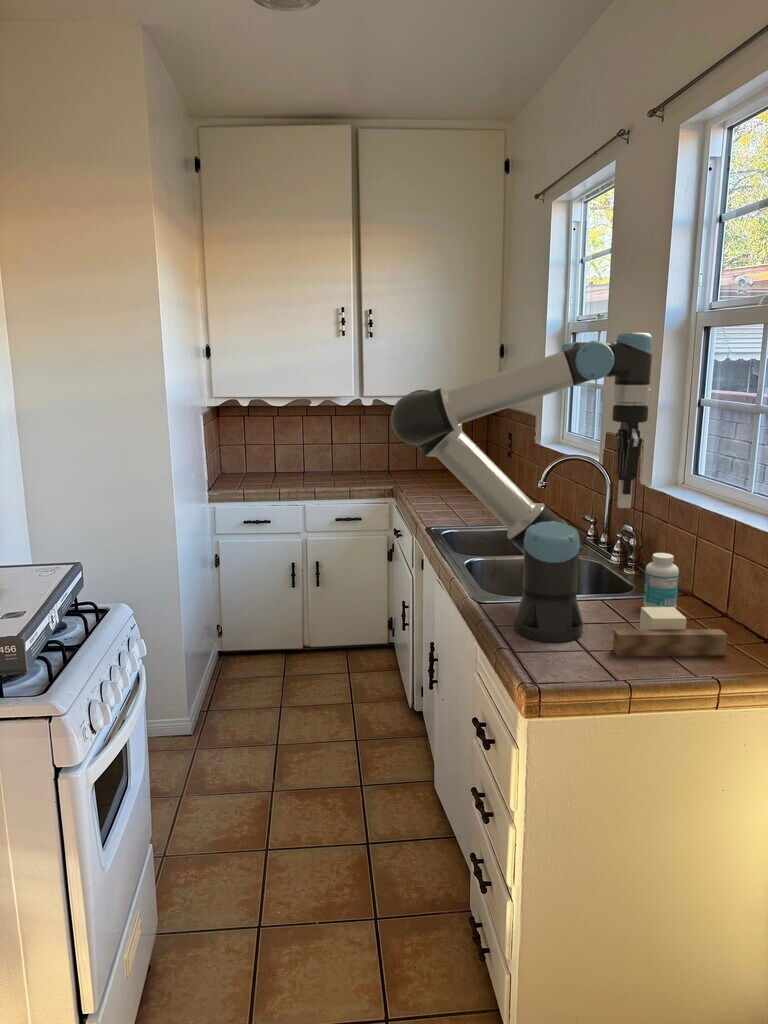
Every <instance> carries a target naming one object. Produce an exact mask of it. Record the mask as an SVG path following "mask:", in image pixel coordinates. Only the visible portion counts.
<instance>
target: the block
mask: <svg viewBox="0 0 768 1024" xmlns="http://www.w3.org/2000/svg"><path fill="white" fill-rule="evenodd" d="M639 629H687V617H686V616H684V615H683V614H682V613H681V612H680V611H679V610H678V609H677V608H676V609H675V608H674V607H644V606H641V607H640V618H639Z"/></svg>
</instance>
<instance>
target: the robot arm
mask: <svg viewBox="0 0 768 1024" xmlns="http://www.w3.org/2000/svg"><path fill="white" fill-rule="evenodd" d="M653 355H654V354H653V336H652V335H651V334H650V333H647V332H622V333H621V332H620V333H619V334H617V338H616V341H613V342H611V341H610V342H603V341H601V340H591V341H589V342H586V341H585V342H582V341H581V342H580V341H579V342H578V341H574V342H565V343H563V344H562V346H561V350H560V352H557V353H555V354H551V355H548V356H545V357H543V358H539V359H537V360H533V361H531V362H528V363H524V364H522V365H518V366H516V367H513V368H510V369H508V370H505V371H501V372H498V373H496V374H492V375H489V376H487V377H484V378H481V379H478V380H474V381H472V382H469V383H465V384H463V385H460V386H458V387H455V388H452V389H450V390H448V389H446V388H443V387H440V388H437V389H434V390H429V389H417V390H415V391H411V392H409V393H408V394H406V395H403V396H402V397H401V398H400V399H398V400H397V402H396V403H395V404H394V405H393V408H392V411H391V415H390V424H391V427H392V428H391V429H392V430H393V432H394V434H395V436H397V438H399V439H400V440H401V441H402V442H404V443H406V444H409V445H413V446H416V447H417V448H418V449H419V451H420V452H422V453H423V454H424V455H425V456H426V457H428V458H429V457H433V458H434V457H435V458H437V459H438V461H440V463H442V464H443V465H444V466H445V468H447V469H448V471H450V472H451V473H452V474H453V475H454V476H455V477H456V478H457V480H459V481H460V482H461V483H462V485H463V486H465V487H466V489H467V490H469V491H470V492H471V494H472V495H473V496H475V498H476V499H478V501H479V502H480V503H482V505H484V506H485V508H486V509H488V510H489V512H491V514H493V515H494V517H495V518H496V519H498V520H499V521H500V523H501V524H502V525H504V526H505V528H506V530H507V538H508V540H509V541H510V542H511V543H512V544H513V545H514V546H515V547H516V548H517V549H518V550H519V551H520V552H521V553H522V554H523V574H522V576H523V579H522V585H523V586H522V596H521V599H520V601H519V604H518V606H517V609H516V611H515V614H514V617H513V629H514V631H515V632H516V633H517V634H518V635H519V636H522V637H524V638H528V639H529V640H530V639H531V640H534V641H539V642H547V643H548V642H549V643H564V642H565V643H566V642H570V641H575V640H577V639H579V638H581V637H582V636H583V634H584V621H583V617H582V613H581V610H580V606H579V603H578V599H577V592H578V579H579V578H578V574H579V573H578V572H579V558H580V557H579V555H580V554H579V553H580V548H581V540H580V534H579V532H578V530H577V529H576V528H575V527H573V526H572V525H568V524H567V522H566V521H565V520H563V519H562V518H560V517H559V516H557V515H556V514H554V512H552V510H550V509H549V508H548V507H547V506H546V504H544V503H543V502H541V503H538V502H533V501H532V500H531V499H530V498H529V497H528V496H527V495H526V493H524V492H523V490H521V489H520V488H519V486H517V484H515V483H514V481H512V479H510V477H508V476H507V474H505V473H504V472H503V470H502V469H501V468H500V467H499V466H498V465H496V464H495V462H494V461H493V460H491V458H490V457H489V456H488V455H487V454H486V453H484V451H483V450H482V449H481V448H480V447H479V446H478V445H477V444H476V443H475V442H474V441H473V440H472V439H471V438H470V437H469V436H468V435H467V434H466V433H465V432H464V431H463V424H464V423H466V422H470V421H473V420H475V419H478V418H481V417H484V416H487V415H491V414H493V413H497V412H499V411H502V410H505V409H508V408H511V407H515V406H517V405H520V404H523V403H526V402H529V401H532V400H535V399H539V398H540V397H544V396H547V395H550V394H553V393H556V392H559V391H562V390H566V389H568V388H572V387H574V386H577V385H581V384H583V383H586V382H590V381H596V380H600V379H602V378H604V377H607V378H611V377H613V378H614V384H613V398H612V401H613V402H614V403H615V404H613V406H612V416H611V417H612V418H611V419H612V421H613V422H616V423H620V425H619V429H618V430H617V432H616V433H615V437H616V471H615V473H616V475H617V479H618V489H617V506H616V507H617V508H619V509H631V508H632V499H633V498H632V497H633V481H634V480H635V479H636V478H637V472H638V467H639V458H640V453H641V446H642V443H643V438H642V437H641V431H640V430H639V424H640V423H647V421H648V419H649V418H648V417H649V406H648V405H647V403H649V399H650V394H651V393H652V390H653V389H651V388H650V387H651V386H650V385H651V375H652V362H653Z"/></svg>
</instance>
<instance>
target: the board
mask: <svg viewBox="0 0 768 1024" xmlns="http://www.w3.org/2000/svg"><path fill="white" fill-rule="evenodd" d="M612 641H613V642H612V652H614V654H615V655H616V656H617V657H630V656H631V657H636V656H637V657H638V656H641V657H644V656H645V657H653V656H655V657H656V656H657V657H659V656H661V657H662V656H663V657H665V656H666V657H667V656H669V657H670V656H672V657H673V656H675V657H677V656H678V657H679V656H691V657H692V656H726V651H727V643H728V642H727V641H728V634H727V632H725V631H724V630H723V629H721V628H700V629H699V628H691V629H690V628H686V629H640V628H638V629H614V630H613V640H612Z"/></svg>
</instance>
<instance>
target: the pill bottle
mask: <svg viewBox="0 0 768 1024" xmlns="http://www.w3.org/2000/svg"><path fill="white" fill-rule="evenodd" d="M674 557H675V556H674V555H673V554H671V553H667V552H654V553H653V554H652V561H651V562H649V563H648V564H647V565H646V566H645V574H644V591H643V607H674V608H675V609H676V610H677V601H678V600H677V599H678V590H679V588H678V587H679V573H680V569H679V567H678V566H677V565H676V564H674V560H675V559H674Z"/></svg>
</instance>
